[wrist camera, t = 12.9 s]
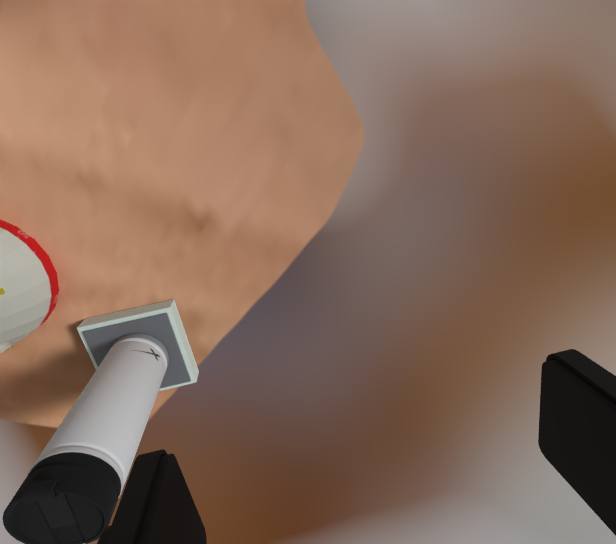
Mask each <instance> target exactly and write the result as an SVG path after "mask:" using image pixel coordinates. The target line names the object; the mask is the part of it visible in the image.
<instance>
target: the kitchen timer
mask: <svg viewBox="0 0 616 544" xmlns="http://www.w3.org/2000/svg"><path fill="white" fill-rule="evenodd" d="M58 292H59V287H58V280H57V273H56V271H55V269H54V266H53V264H52V262H51V260H50V258H49V256H48V255H47V253H46V252H45V251H44V250H43V249H42V248H41V246H40V245H39V244H38V243H37V242H36V241H35V240H34V239H33V238H32V237H30V236H29V235H28V234H26V233H25V232H23V231H22V230H21V229H19V228H18V227H16V226H14V225H12V224H9V223H7V222H5V221H2V220H0V353H2V352H3V351H5V350H7V349H9V348H11V347H12V346H13V344H14V343H16V342H18V341H20V340H22V339H23V338H25V337H26V336H28V335H29V334H30V333H31V332H33V331H34V330H35V329H37V328H38V327H39V326H40V325H41V324H42V323H44V322H45V321H46V320H47V319H48V317H49V315H50V314H51V312H52V311H53V309H54V308H55V306H56V302H57V297H58Z"/></svg>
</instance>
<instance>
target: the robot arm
mask: <svg viewBox="0 0 616 544" xmlns="http://www.w3.org/2000/svg"><path fill="white" fill-rule="evenodd" d="M538 442H539V447H540V449H541V452H542V453H543V455H544V456H545V458H546V459H547V460H548V461H549V462H550V463H551V464H552V465H553V466H554V468H555V469H556V470H557V471H558V472H559V473H560V474H561V475H562V477H563V478H564V479H565V480H566V481H567V482H568V483H569V484H570V485H571V486H572V487H573V489H574V490H575V491H576V492H577V493H578V494H579V495H580V496H581V498H582V499H583V500H584V501H585V502H586V503H587V504H588V505H589V506H590V508H591V509H592V510H593V511H594V512H595V513H596V514H597V515H598V516H599V517H600V518H601V520H602V521H603V522H604V523H605V524H606V525H607V526H608V528H609V529H610V530H611V531H612V532H613V533H614V534H615V535H616V376H615V375H613V374H612V373H610V372H608V371H607V370H605V369H604V368H603V367H601V366H600V365H598V364H596V363H595V362H593V361H592V360H591V359H589V358H588V357H586V356H585V355H583V354H582V353H580V352H579V351H576V350H573V349H570V350H566V351H562V352H558V353H554V354H550V355H548V357H547V359H546V362H544V363H543V364H542V375H541V396H540V418H539V440H538ZM97 544H207V543H206V532H205V528H204V526H203V523H202V521H201V518H200V516H199V513H198V511H197V509H196V506H195V504H194V501H193V499H192V496H191V494H190V491H189V489H188V487H187V484H186V482H185V479H184V477H183V475H182V472H181V469H180V467H179V465H178V463H177V460H176V457H175V456H174V454H169V455H168V454H167V453H166V451H165V450H158V451H154V452H150V453H146V454H142V455H139V456H138V457H137V458H136V460H135V462H134V465H133V468H132V470H131V473H130V476H129V479H128V481H127V484H126V487H125V490H124V493H123V495H122V498H121V501H120V504H119V506H118V509H117V512H116V515H115V517H114V520H113V523H112V525H111V526H108V527H107V528H106V529H105V530H104V531H103V532H102V534H101V536H100V539H99V540H98V543H97Z"/></svg>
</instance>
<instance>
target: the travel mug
mask: <svg viewBox="0 0 616 544" xmlns="http://www.w3.org/2000/svg"><path fill="white" fill-rule="evenodd" d="M168 363H169V355H168V352H167V350H166V348H165V346H164V345H163V344H162V343H161V342H160V341H159V340H157V339H156V338H154V337H152V336H150V335H146V334H140V333H137V334H129V335H126V336H123V337H121V338H120V339H118V340H117V341H116V342H115V343H114V344H113V346H112V347H111V349H110V350H109V352H108V353H107V355H106V356H105V358H104V359H103V361H102V362H101V364H100V365H99V367H98V368H97V370H96V371H95V373H94V374H93V376H92V377H91V379H90V381H89V382H88V384H87V385H86V387H85V388H84V390H83V391H82V393H81V394H80V396H79V397H78V399H77V400H76V402H75V403H74V405H73V406H72V408H71V409H70V411H69V412H68V414H67V415H66V417H65V418H64V420H63V421H62V423H61V424H60V426H59V427H58V429H57V430H56V432H55V434H54V435H53V437H52V438H51V440H50V441H49V443H48V444H47V446H46V447H45V449H44V450H43V452H42V453H41V455H40V456H39V458H38V459H37V461H36V463H35V464H34V465H33V467H32V469H31V470H30V472H29V473H28V476H27V478H26V479H25V481H24V482H23V484H22V485H21V487H20V488H19V490H18V491H17V493H16V494H15V496H14V497H13V499H12V501H11V502H10V503H9V505H8V506H7V508H6V510H5V511H4V515H3V523H4V526H5V528H6V530H7V531H8V533H10V535H11V536H13V537H14V538H15V539H17V540H19V541H21V542H23V543H25V544H82V543H86V544H87V543H90V542H92V541H94V540H97V539H98V538H100V536H101V534H102V532H103V531H104V530H105V529H106V528H107V527H108V525H109V523H110V520H111V517H112V514H113V512H114V509H115V506H116V503H117V501H118V499H119V497H120V495H121V492H122V489H123V486H124V484H125V481H126V478H127V476H128V473H129V470H130V468H131V465H132V462H133V459H134V457H135V454H136V451H137V448H138V446H139V443H140V440H141V438H142V434H143V432H144V429H145V427H146V424H147V421H148V418H149V416H150V413H151V410H152V407H153V405H154V402H155V399H156V397H157V394H158V391H159V388H160V386H161V383H162V380H163V377H164V375H165V372H166V369H167V366H168Z"/></svg>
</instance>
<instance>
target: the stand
mask: <svg viewBox="0 0 616 544" xmlns="http://www.w3.org/2000/svg"><path fill="white" fill-rule="evenodd" d="M77 330H78V332H79V334H80V336H81V339H82V341H83V343H84V345H85V347H86V349H87V352H88V354H89V356H90V358H91V360H92V363H93V365H94V367H95V369H96V370H97V368H98V367H99V365H100V364H101V362H102V361H103V359H104V358H105V356H106V355H107V353H108V352H109V350H110V349H111V347H112V346H113V344H114V343H115V342H116V341H117V340H118V339H120V338H121V337H123V336H126V335H129V334H137V333H140V334H146V335H150V336H152V337H154V338H156V339H157V340H159V341H160V342H161V343H162V344H163V345H164V346H165V348H166V350H167V352H168V355H169V363H168V366H167V369H166V372H165V375H164V377H163V380H162V383H161V386H160V388H159V391H162V390H166V389H170V388H174V387H179V386H183V385H186V384H191V383H196V382H197V377H198V373H199V371H198V368H197V365H196V362H195V359H194V356H193V353H192V350H191V347H190V344H189V341H188V339H187V336H186V333H185V330H184V327H183V324H182V321H181V318H180V315H179V312H178V309H177V307H176V304H175V301H174V299H172V300H168V301H163V302H159V303H154V304H149V305H145V306H140V307H136V308H131V309H127V310H122V311H118V312H113V313H109V314H104V315H100V316H95V317H91V318H86V319H84V321H83V322H82V323H81V324H80V325H79V326H78V327H77Z"/></svg>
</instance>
